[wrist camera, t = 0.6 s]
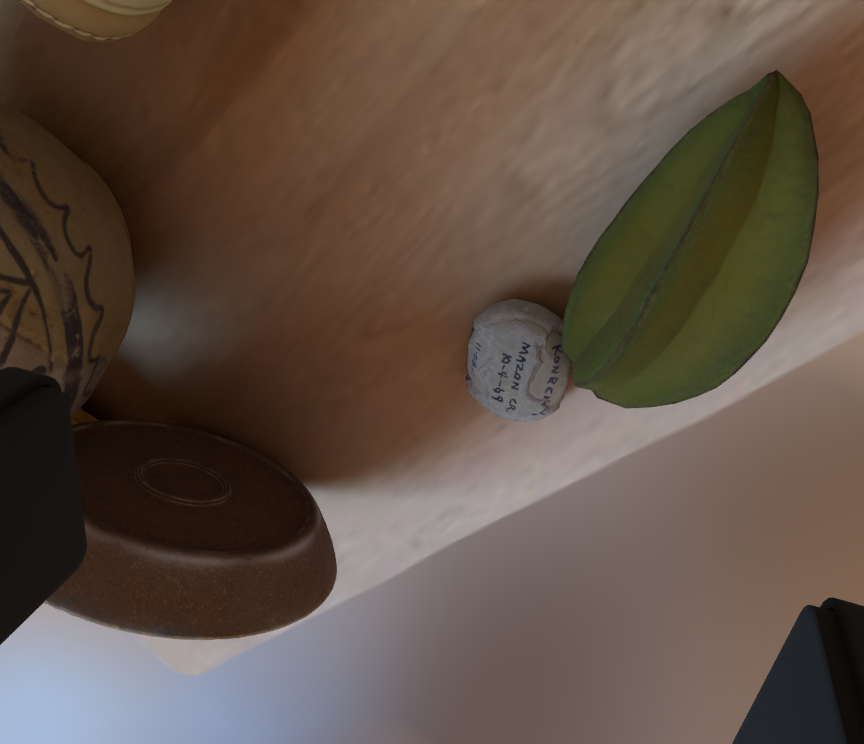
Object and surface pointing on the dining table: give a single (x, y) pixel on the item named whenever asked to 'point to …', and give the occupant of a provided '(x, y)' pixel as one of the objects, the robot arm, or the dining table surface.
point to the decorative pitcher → (59, 261)
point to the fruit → (699, 255)
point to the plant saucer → (192, 535)
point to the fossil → (517, 360)
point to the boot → (97, 16)
